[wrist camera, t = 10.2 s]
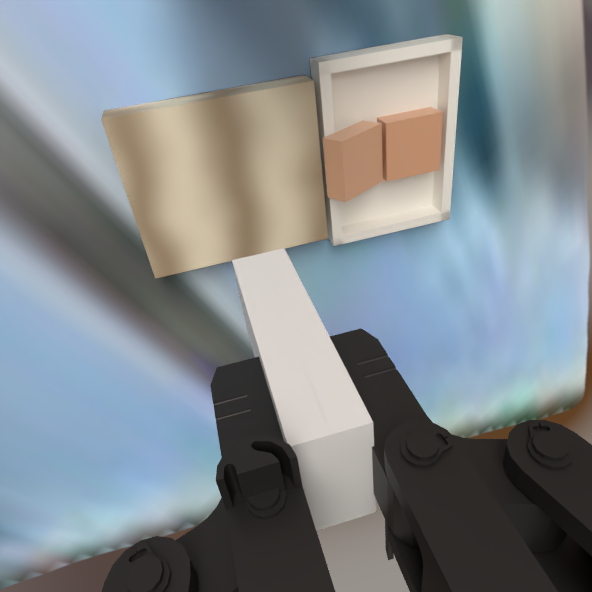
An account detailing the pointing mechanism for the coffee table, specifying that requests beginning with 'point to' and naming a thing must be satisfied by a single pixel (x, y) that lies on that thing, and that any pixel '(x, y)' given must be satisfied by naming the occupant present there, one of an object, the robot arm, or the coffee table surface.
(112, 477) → the coffee table surface
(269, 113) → the board
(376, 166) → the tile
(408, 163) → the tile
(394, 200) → the tray
